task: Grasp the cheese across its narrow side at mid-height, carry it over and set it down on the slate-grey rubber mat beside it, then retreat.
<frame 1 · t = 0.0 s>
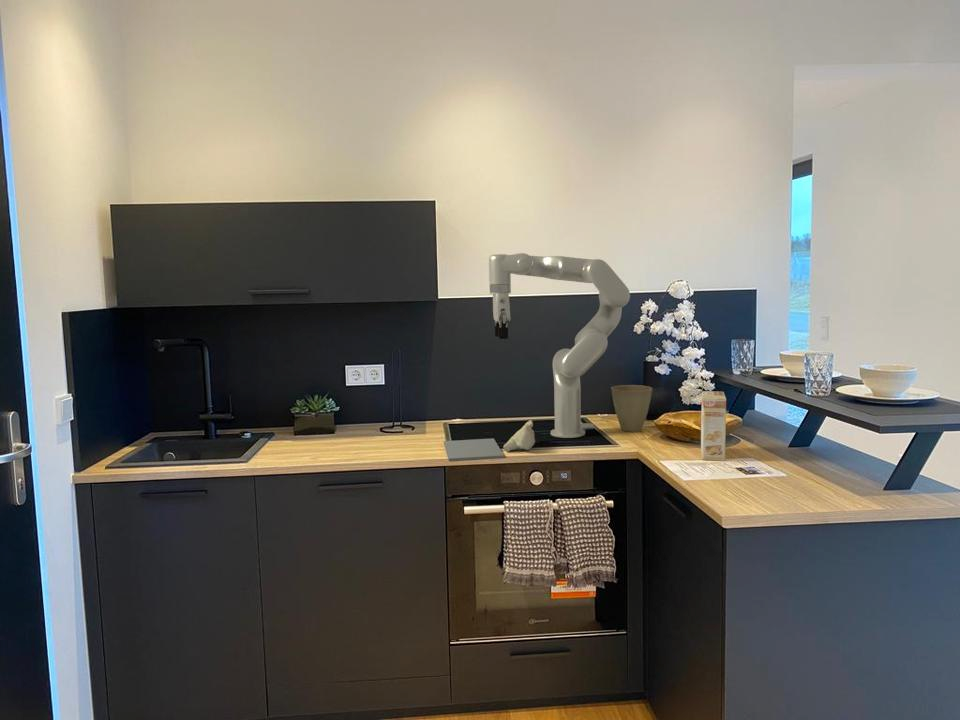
hand: (501, 337, 248), 37 cm above the worktop, tool pointing down, fingers open, 9 cm apart
mat: (472, 450, 236), on the worktop
plant pot: (631, 430, 260), on the worktop
coffeecake box: (712, 455, 222), on the worktop
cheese: (521, 448, 238), on the worktop
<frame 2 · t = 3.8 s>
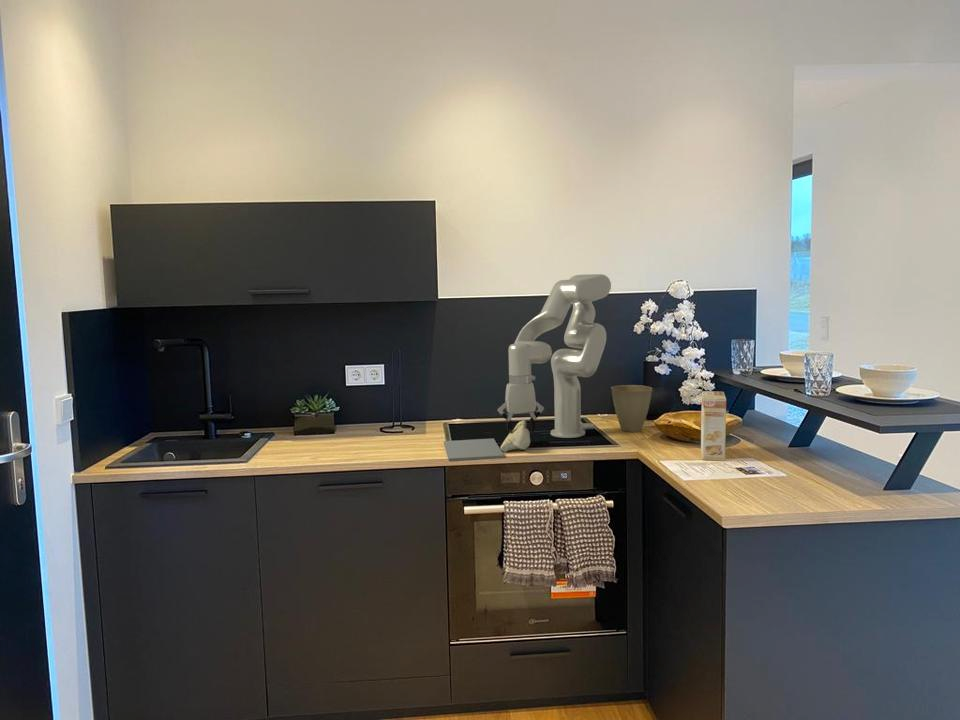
hand: (521, 430, 237), 6 cm above the worktop, tool pointing down, fingers open, 6 cm apart
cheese: (515, 448, 238), on the worktop, touching gripper
everything else where it was.
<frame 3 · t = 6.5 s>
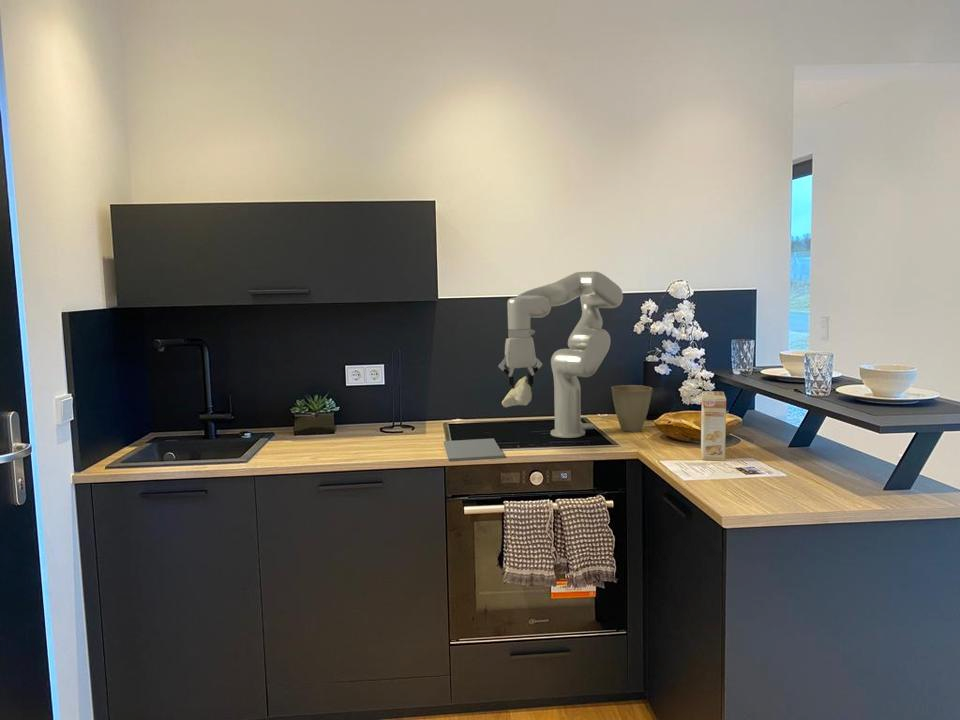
hand: (521, 386, 235), 21 cm above the worktop, tool pointing down, fingers closed on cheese, 5 cm apart
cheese: (517, 404, 236), point 15 cm above the worktop, touching gripper
everything else where it was.
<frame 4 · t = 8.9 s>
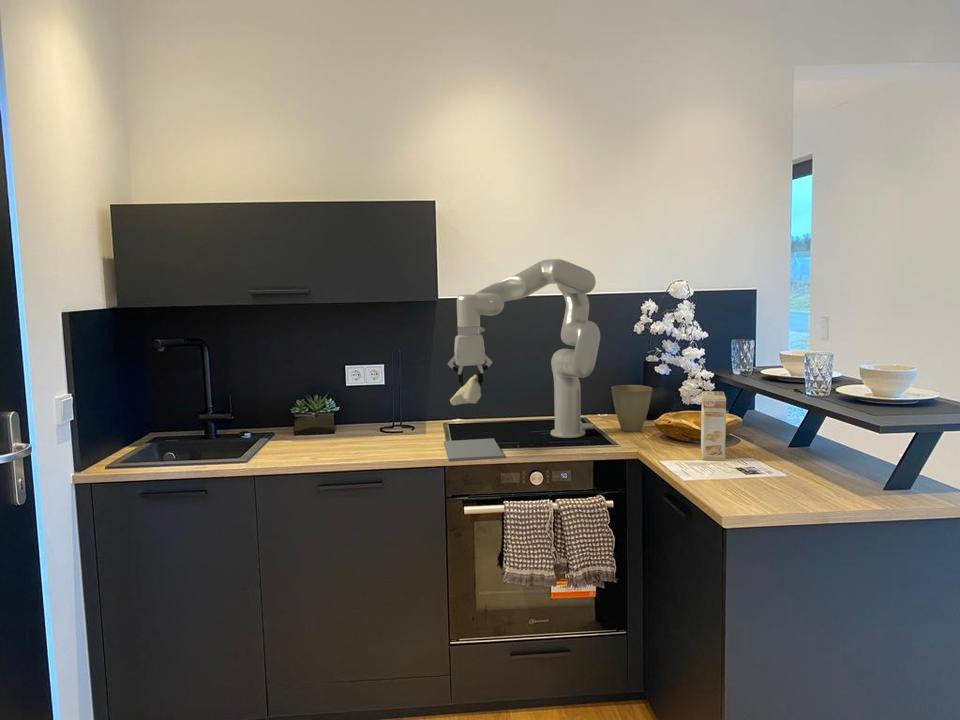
hand: (470, 384, 233), 23 cm above the worktop, tool pointing down, fingers closed on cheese, 5 cm apart
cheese: (466, 402, 234), point 16 cm above the worktop, touching gripper
everything else where it was.
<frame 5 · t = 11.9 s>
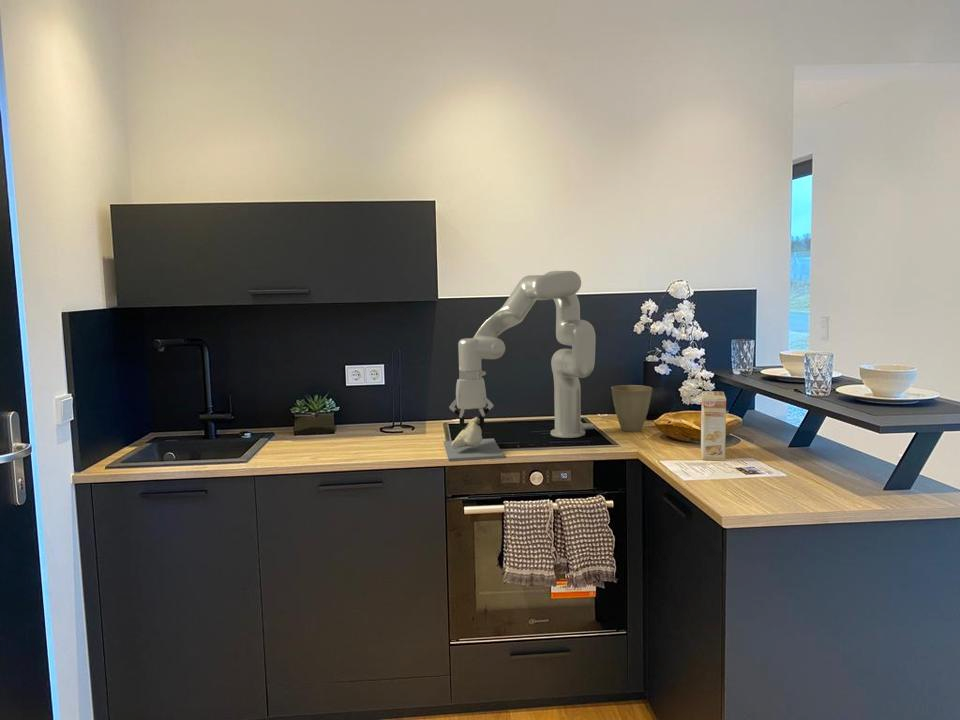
hand: (472, 427, 235), 8 cm above the worktop, tool pointing down, fingers closed on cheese, 5 cm apart
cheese: (467, 445, 236), point 2 cm above the worktop, touching gripper
everything else where it was.
when the fingers open (7 cm above the worktop, at t = 13.8 s): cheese stays where it is, resting on mat.
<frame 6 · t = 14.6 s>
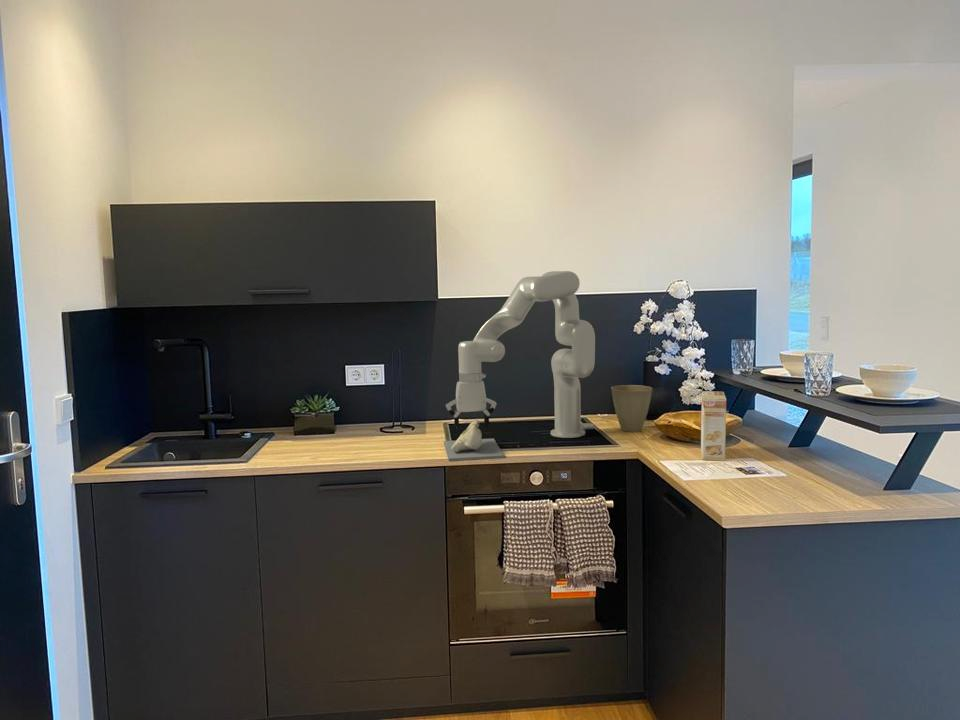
hand: (471, 427, 235), 8 cm above the worktop, tool pointing down, fingers open, 9 cm apart
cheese: (467, 448, 236), point 1 cm above the worktop, touching mat
everything else where it was.
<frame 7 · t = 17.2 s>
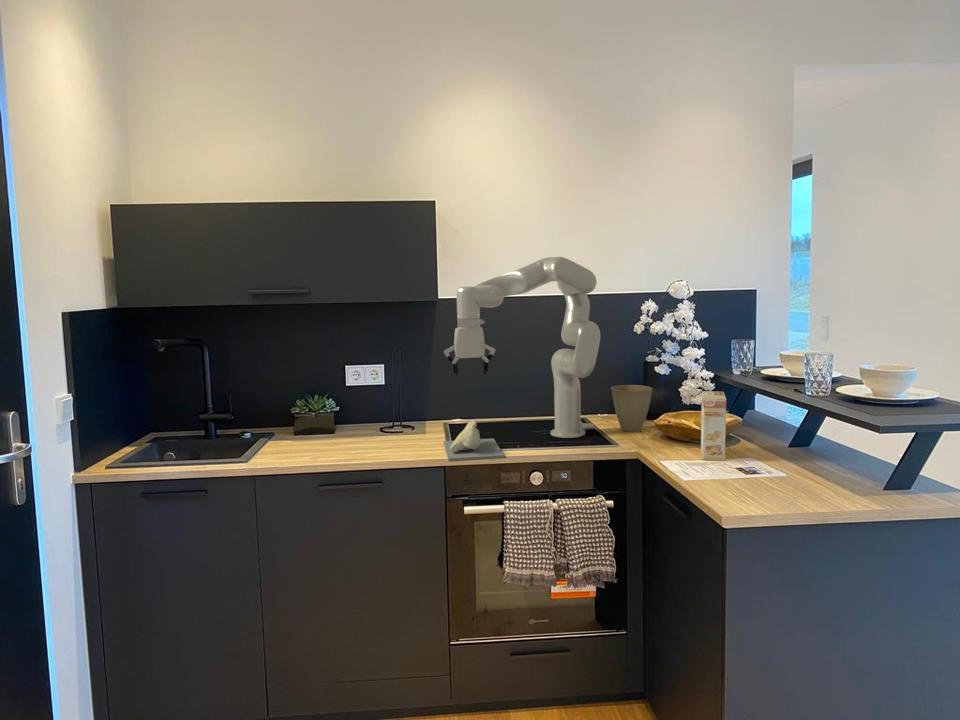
hand: (470, 374, 233), 26 cm above the worktop, tool pointing down, fingers open, 9 cm apart
nothing on the worktop moved.
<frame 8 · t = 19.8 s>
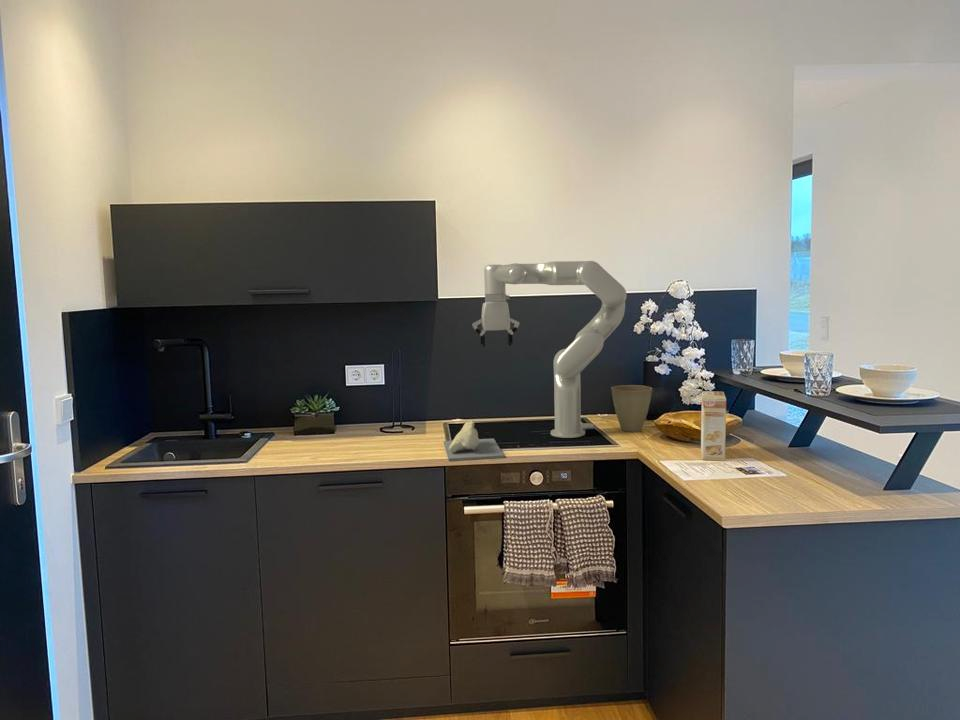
hand: (496, 345, 253), 33 cm above the worktop, tool pointing down, fingers open, 9 cm apart
at the end: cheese inside the target area on the mat (2.9 cm from its centre), point 0.6 cm above the mat's base; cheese touching mat; the gripper is holding nothing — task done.
